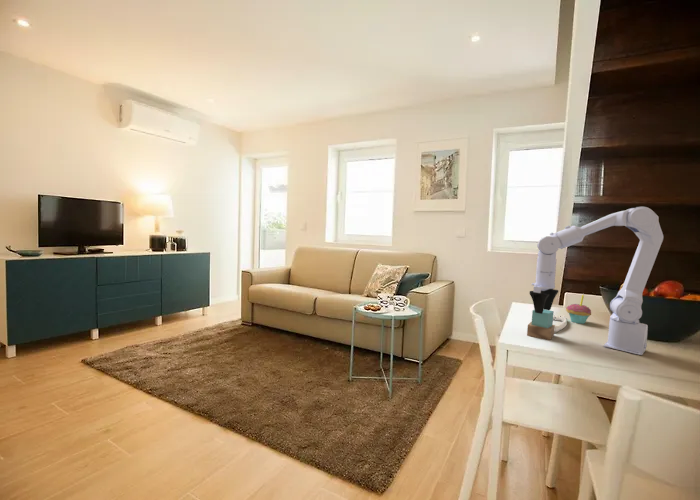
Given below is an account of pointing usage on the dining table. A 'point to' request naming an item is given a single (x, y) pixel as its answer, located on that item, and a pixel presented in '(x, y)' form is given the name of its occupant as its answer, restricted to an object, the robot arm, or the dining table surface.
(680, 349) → the dining table surface
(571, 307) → the cupcake
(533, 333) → the walnut block
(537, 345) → the dining table surface
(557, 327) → the white curved loop
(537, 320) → the teal cube
